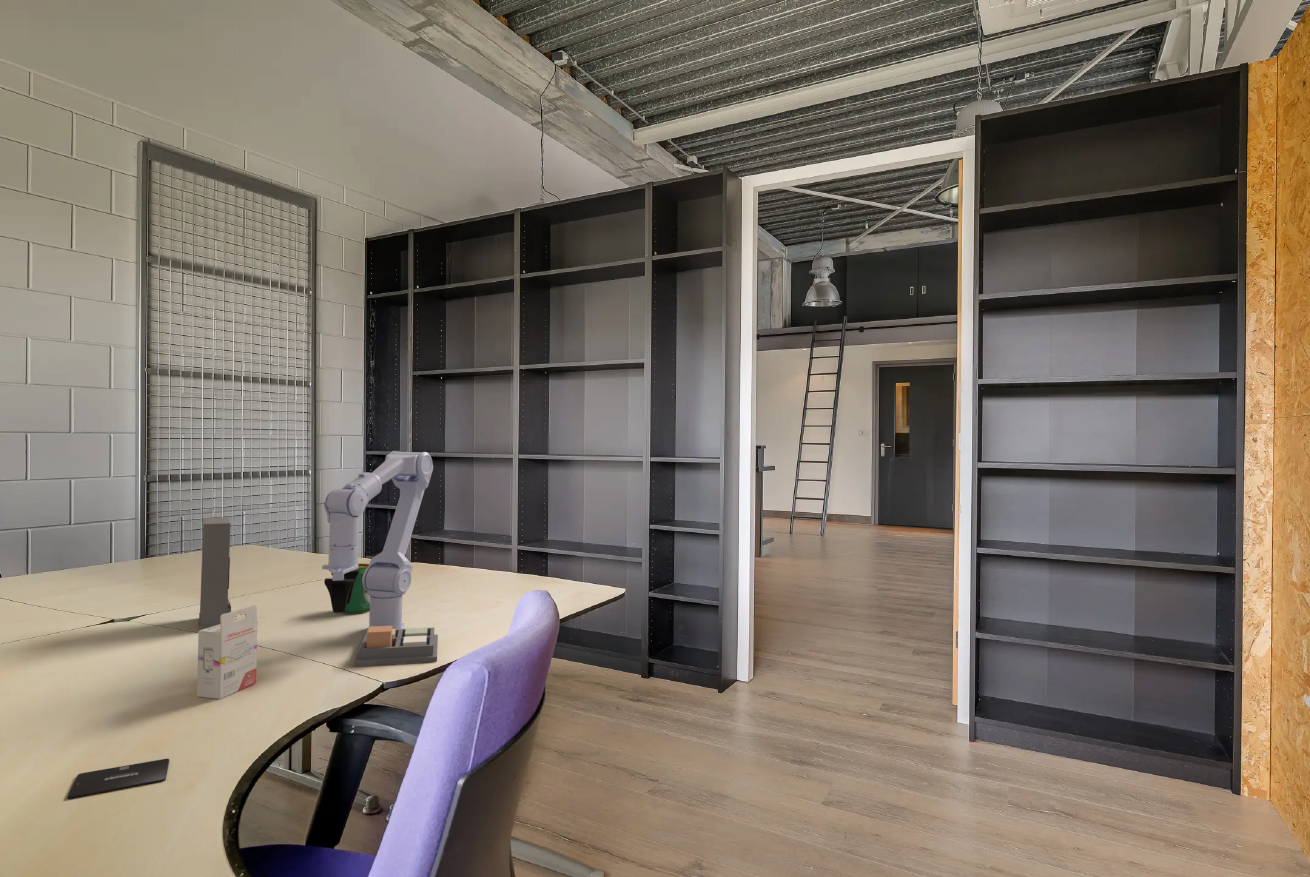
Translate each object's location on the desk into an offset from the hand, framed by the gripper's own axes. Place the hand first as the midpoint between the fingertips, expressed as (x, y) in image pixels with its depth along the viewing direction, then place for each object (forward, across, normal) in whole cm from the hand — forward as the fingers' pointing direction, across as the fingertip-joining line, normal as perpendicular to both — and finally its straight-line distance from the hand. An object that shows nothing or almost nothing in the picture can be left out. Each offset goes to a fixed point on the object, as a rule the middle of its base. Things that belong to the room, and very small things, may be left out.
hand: (341, 607), depth 147 cm
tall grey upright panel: (+10, -30, -32) cm, 45 cm away
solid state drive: (+10, +53, -20) cm, 57 cm away
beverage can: (+10, -37, -1) cm, 38 cm away
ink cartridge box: (+10, +20, -16) cm, 27 cm away
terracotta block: (+8, +6, +8) cm, 13 cm away
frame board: (+9, +2, +12) cm, 15 cm away
